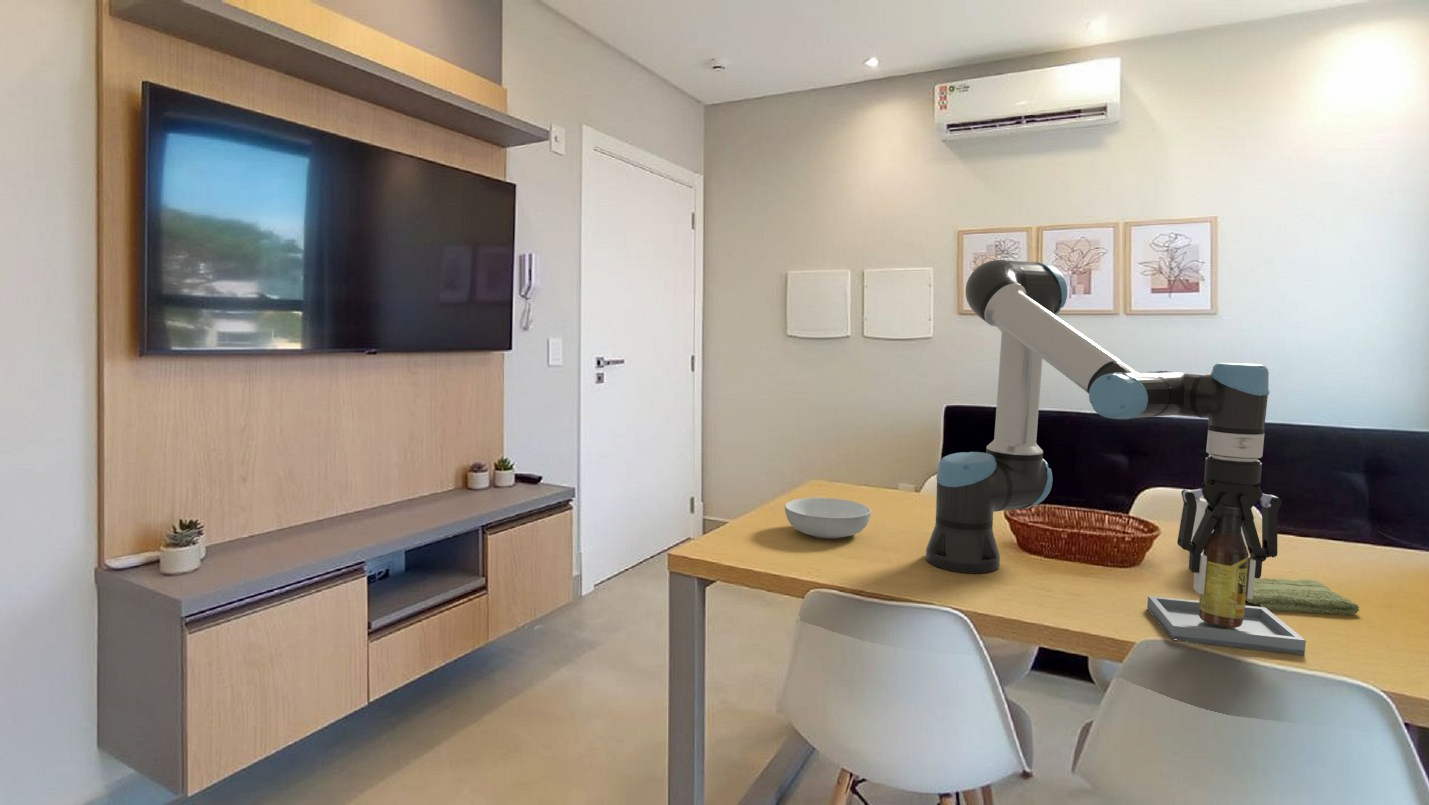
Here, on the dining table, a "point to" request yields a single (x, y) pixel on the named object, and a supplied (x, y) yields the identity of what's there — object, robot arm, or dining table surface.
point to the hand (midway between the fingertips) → (1222, 593)
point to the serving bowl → (827, 517)
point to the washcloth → (1299, 597)
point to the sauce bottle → (1225, 572)
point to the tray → (1253, 633)
